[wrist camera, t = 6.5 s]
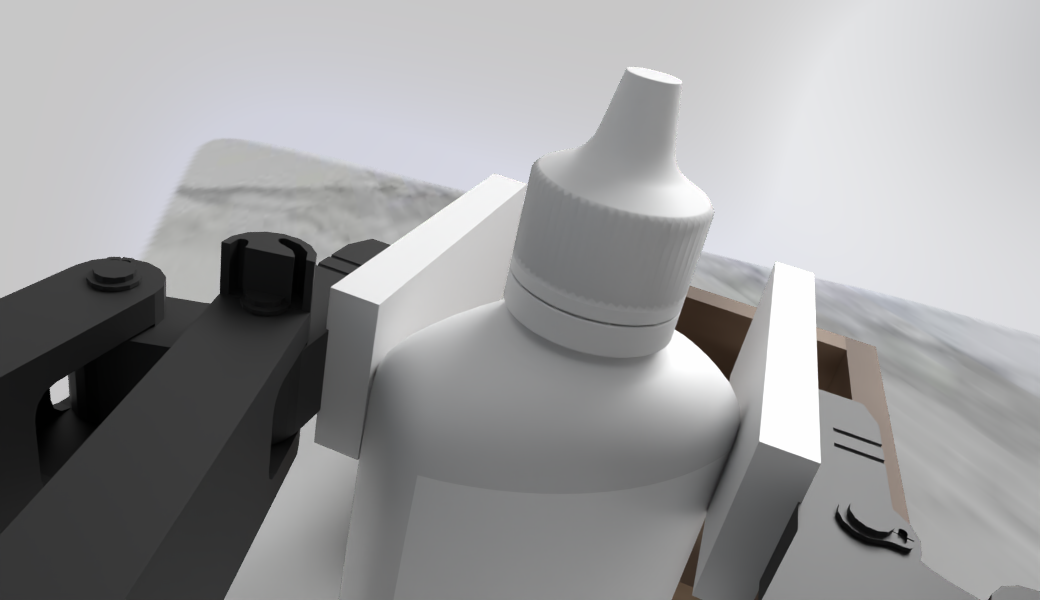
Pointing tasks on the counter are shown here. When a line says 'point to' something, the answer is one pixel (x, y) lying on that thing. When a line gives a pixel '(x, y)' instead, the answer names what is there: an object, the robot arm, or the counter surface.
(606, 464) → the eye dropper bottle
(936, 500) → the counter surface
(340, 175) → the counter surface
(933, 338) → the counter surface
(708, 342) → the walnut socket block
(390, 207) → the counter surface
